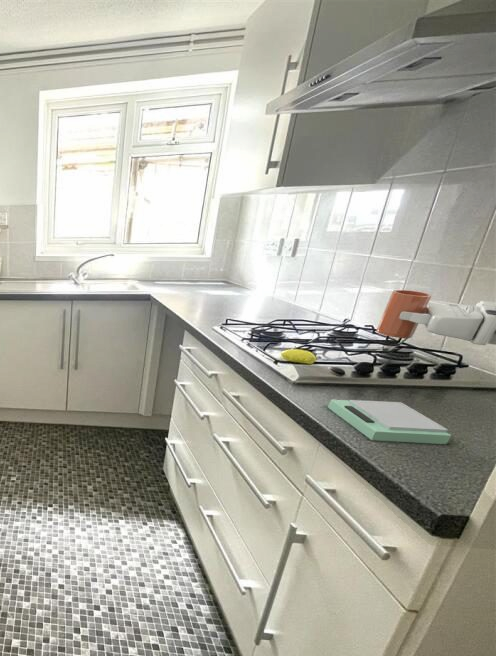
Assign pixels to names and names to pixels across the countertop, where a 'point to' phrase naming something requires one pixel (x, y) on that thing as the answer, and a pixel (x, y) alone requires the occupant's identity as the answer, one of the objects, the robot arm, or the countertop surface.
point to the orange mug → (396, 304)
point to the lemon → (299, 356)
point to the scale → (389, 421)
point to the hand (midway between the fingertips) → (398, 311)
